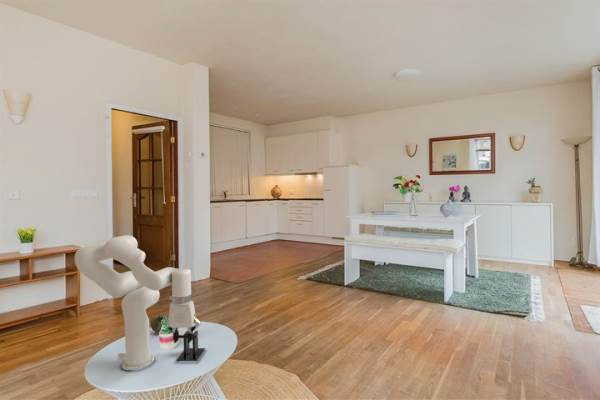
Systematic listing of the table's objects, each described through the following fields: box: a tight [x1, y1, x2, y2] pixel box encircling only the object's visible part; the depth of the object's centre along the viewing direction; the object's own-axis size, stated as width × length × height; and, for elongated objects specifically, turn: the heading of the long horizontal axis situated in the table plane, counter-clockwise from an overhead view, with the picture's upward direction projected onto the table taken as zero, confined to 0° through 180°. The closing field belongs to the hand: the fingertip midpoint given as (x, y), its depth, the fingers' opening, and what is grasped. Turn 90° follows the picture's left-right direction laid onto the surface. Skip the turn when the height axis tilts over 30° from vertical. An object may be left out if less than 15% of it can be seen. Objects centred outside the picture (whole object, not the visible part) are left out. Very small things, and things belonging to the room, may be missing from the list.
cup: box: [149, 315, 166, 336], centre depth 176 cm, size 8×7×8 cm
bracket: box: [176, 330, 206, 362], centre depth 151 cm, size 11×9×11 cm
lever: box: [176, 334, 188, 340], centre depth 147 cm, size 12×5×2 cm, turn 178°
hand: (183, 341), depth 142 cm, fingers closed on lever, 5 cm apart
